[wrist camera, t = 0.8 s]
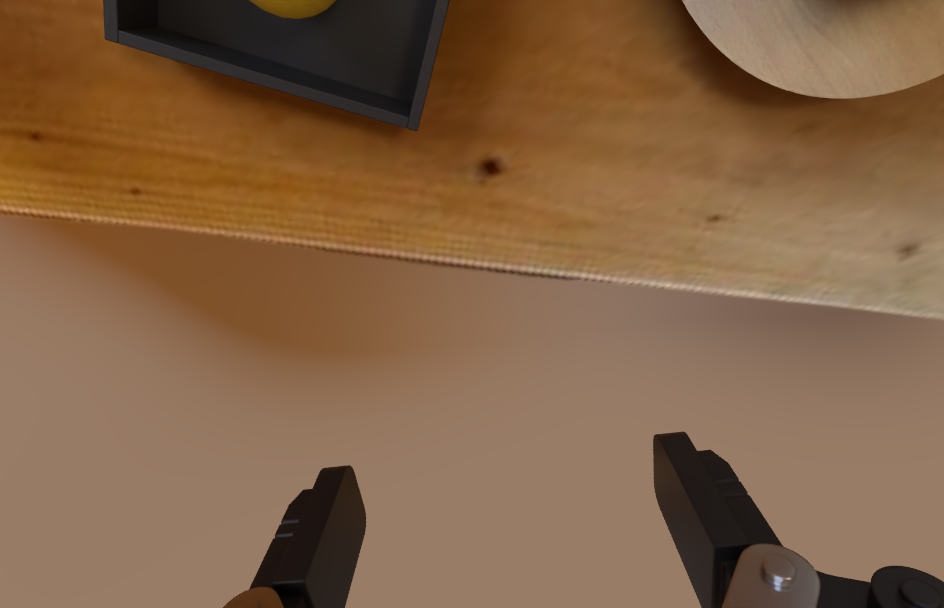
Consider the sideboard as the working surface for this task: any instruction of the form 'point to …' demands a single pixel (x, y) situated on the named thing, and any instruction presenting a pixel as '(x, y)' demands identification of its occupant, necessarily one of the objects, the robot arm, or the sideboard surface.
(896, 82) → the plate of stacked packets
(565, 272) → the sideboard surface
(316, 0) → the lemon
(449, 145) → the sideboard surface
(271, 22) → the bin
